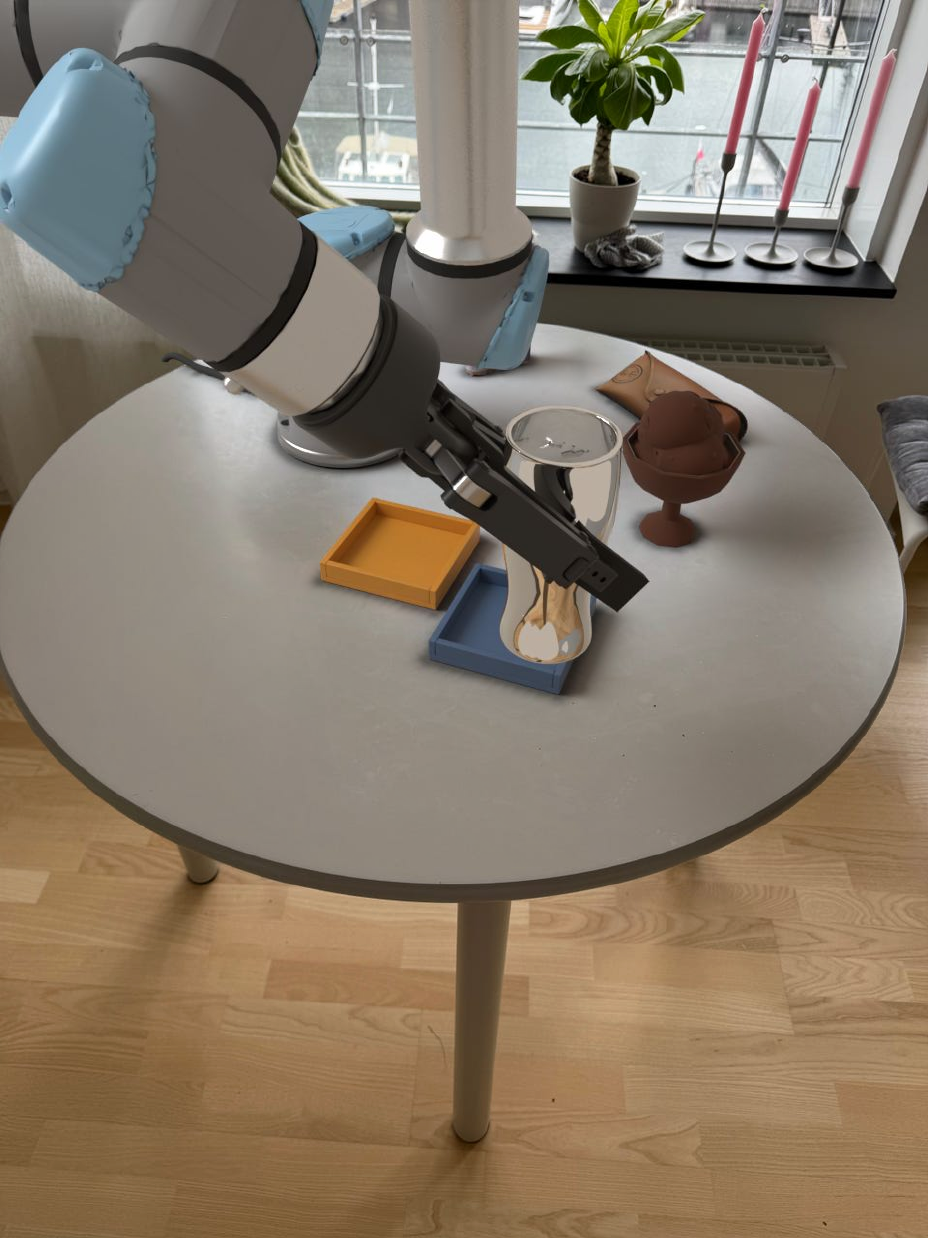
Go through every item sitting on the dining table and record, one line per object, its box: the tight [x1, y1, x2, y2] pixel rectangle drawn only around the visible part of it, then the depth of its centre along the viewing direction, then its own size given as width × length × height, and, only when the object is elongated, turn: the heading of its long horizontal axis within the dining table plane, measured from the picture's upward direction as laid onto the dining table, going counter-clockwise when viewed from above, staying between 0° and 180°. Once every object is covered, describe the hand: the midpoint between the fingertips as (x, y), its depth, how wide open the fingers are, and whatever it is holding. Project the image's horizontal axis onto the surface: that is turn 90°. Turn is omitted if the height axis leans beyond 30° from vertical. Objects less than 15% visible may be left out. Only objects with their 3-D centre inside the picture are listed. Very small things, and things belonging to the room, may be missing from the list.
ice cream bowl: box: [622, 391, 746, 548], centre depth 89 cm, size 11×11×15 cm
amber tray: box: [319, 497, 481, 611], centre depth 89 cm, size 11×11×2 cm
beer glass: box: [499, 405, 624, 664], centre depth 59 cm, size 7×7×15 cm
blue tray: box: [428, 562, 598, 695], centre depth 82 cm, size 11×11×2 cm
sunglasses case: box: [595, 349, 749, 443], centre depth 111 cm, size 18×7×7 cm
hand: (601, 556), depth 61 cm, fingers closed on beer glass, 7 cm apart
